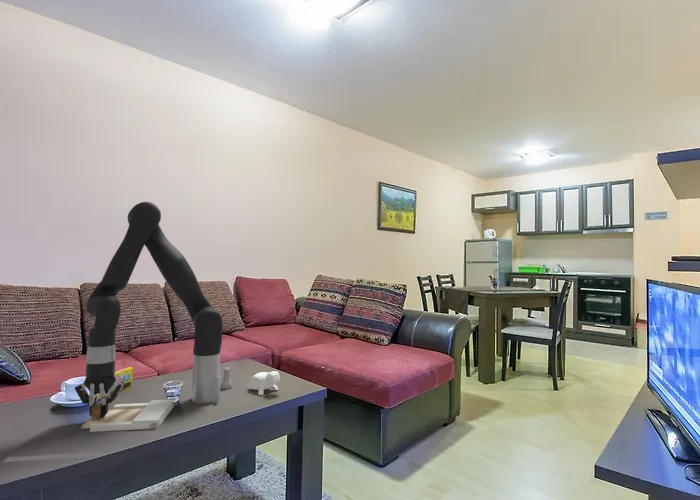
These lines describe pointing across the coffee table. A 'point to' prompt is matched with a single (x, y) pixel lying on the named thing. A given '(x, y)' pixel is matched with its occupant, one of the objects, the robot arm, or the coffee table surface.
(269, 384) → the white elephant figurine
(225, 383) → the rook chess piece
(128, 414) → the cover plate
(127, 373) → the candy box
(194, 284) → the robot arm
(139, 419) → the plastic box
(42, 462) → the coffee table surface
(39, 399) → the coffee table surface
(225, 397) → the coffee table surface
